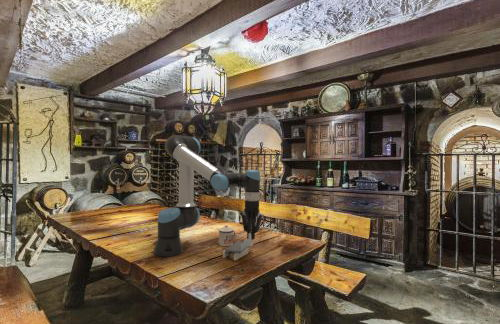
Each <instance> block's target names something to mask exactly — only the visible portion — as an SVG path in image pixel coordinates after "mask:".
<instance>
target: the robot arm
mask: <svg viewBox="0 0 500 324" xmlns="http://www.w3.org/2000/svg"><path fill="white" fill-rule="evenodd" d="M164 148H165V151H166V153H168V155H169V156H171V157H172V158H173V159H175V160H177V161H178V203H177V204H175V207H167V208H164V209H161V210H159V212H158V215H157V238H156V239H157V240H156V243H155V245H154V248H153V254H154V255H155V256H156V257H157V256H158V257H174V256H178V255H180V254H182V253H183V251H184V249H183V247H184V246H183V245H182V241H181V238H180V236H181V232H180V231H181V230H185V229H187V228H191V227H194V226H195V225H197V224H198V223H199V220H200V218H201V216H200V215H201V214H200V210H199V208H198V207H197V204H196V203H195V202H194V196H195V195H194V192H195V191H194V188H195V185H194V183H195V172H196V173H198V174H199V175H200V176H201V177H202V178H204V179H206V180H207V181H209V182H210V185H211V187H212V188H213V189H214V190H219V191H220V190H221V191H222V190H227V189H233V188H243V189H244V199H245V200H244V209H243V211H241V212H240V213H239V214H240V217H241V221H242V227H243V231H244V232H246V238H247V239H248V246H249V247H252V246H253V245H254V240H255V239H256V234H257V233H258V232H259V231H260V227H261V223H262V220H263V217H264V216H265V215H264V214H261V212H260V195H261V194H260V188H261V187H260V186H261V172H260V171H259V170H257V169H246V170H245V173H242V172H227V173H225V172H224V171H222V170H220V169H219V168H217V167H216V166H214V165H213V164H212V163H210V162H209V161H207V160H206V159H205V158H203V157H201V156H200V155H199V154H200V153H201V143H200V141H199V140H198V139H197V138H196V137H193V136H188V135H187V136H186V135H179V134H177V135H176V134H175V135H171V136H169V137H168V138H167V140H166V141H165V147H164ZM247 239H246V240H247Z"/></svg>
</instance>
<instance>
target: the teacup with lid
mask: <svg viewBox="0 0 500 324" xmlns="http://www.w3.org/2000/svg"><path fill="white" fill-rule="evenodd" d="M236 233H237V232H236V231H234V228H232V227H230V226H228V224H224V226H223V227H221V228H219V229H218V245H219V246H221V247H230V246H231V245H233V244H234V239H235V237H236Z"/></svg>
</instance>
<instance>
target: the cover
mask: <svg viewBox="0 0 500 324" xmlns="http://www.w3.org/2000/svg"><path fill="white" fill-rule="evenodd" d="M248 247H249V248H250V246H248V239H242V241H239V240H237V241H235V242H233V245H231V246H227V247H226V248H225V249H224V250H225V251H226V252H233V253H239V254H241V253H242V252H243V251H244V250H246V249H247V248H248Z"/></svg>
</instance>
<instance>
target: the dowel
mask: <svg viewBox="0 0 500 324" xmlns="http://www.w3.org/2000/svg"><path fill="white" fill-rule="evenodd" d="M228 257H229V258H228V259H230V260H234V253H233V252H232V253H231V254H229V256H228Z"/></svg>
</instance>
